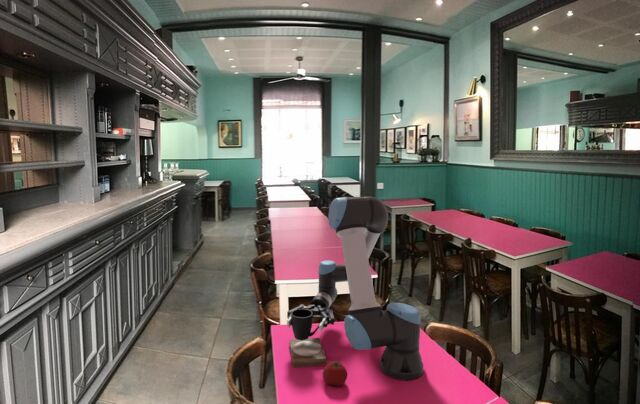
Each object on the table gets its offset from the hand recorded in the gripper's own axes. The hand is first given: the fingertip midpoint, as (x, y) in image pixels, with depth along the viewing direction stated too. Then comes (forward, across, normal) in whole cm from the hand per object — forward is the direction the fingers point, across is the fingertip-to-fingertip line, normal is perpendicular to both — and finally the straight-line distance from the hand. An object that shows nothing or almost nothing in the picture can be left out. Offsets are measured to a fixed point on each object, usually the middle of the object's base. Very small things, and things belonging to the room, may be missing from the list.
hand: (303, 326), depth 144 cm
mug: (-4, 0, -6) cm, 7 cm away
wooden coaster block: (-3, 0, -13) cm, 13 cm away
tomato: (+11, -15, -13) cm, 23 cm away
